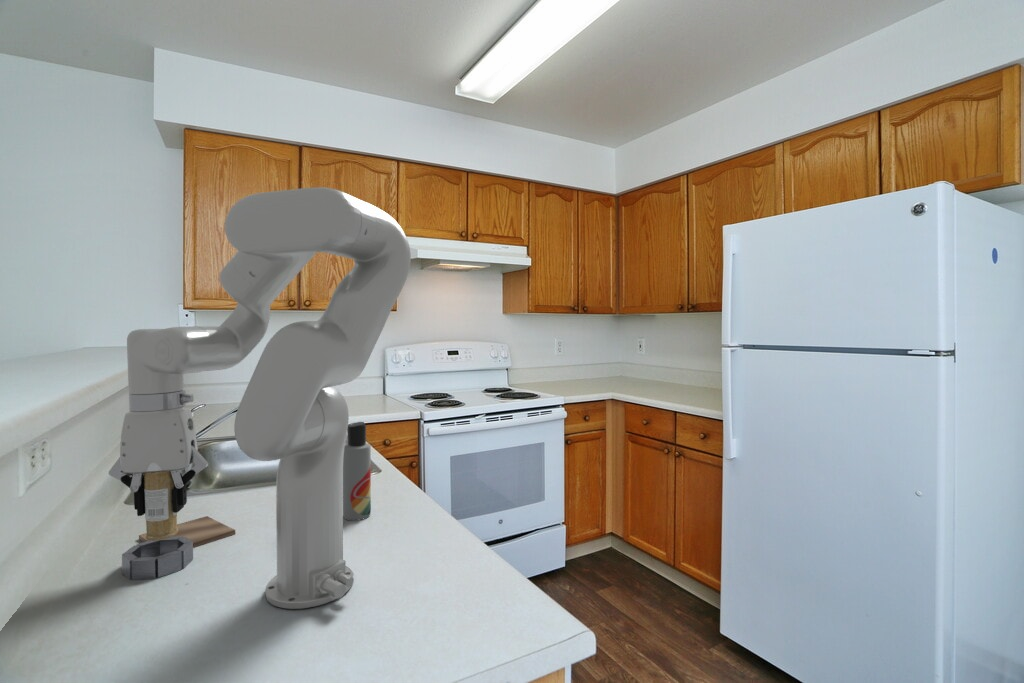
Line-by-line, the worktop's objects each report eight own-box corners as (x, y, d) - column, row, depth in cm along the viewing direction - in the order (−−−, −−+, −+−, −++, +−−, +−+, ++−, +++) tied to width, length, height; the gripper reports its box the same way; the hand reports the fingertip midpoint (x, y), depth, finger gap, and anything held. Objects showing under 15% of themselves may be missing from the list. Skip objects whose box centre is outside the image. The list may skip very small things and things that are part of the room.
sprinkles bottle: (184, 531, 87) (182, 453, 87) (163, 542, 83) (160, 460, 82) (160, 530, 88) (157, 453, 87) (138, 541, 83) (135, 459, 83)
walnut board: (235, 534, 99) (235, 529, 99) (165, 556, 89) (164, 552, 89) (207, 519, 106) (206, 516, 106) (138, 539, 96) (138, 535, 96)
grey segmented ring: (200, 563, 87) (200, 545, 86) (136, 585, 79) (136, 566, 79) (177, 548, 92) (177, 532, 92) (115, 568, 85) (115, 550, 84)
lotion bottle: (374, 517, 108) (374, 423, 107) (347, 523, 104) (347, 426, 104) (365, 509, 112) (365, 419, 112) (339, 514, 109) (339, 422, 109)
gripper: (220, 397, 90) (223, 499, 91) (110, 402, 86) (114, 509, 87) (206, 403, 83) (210, 514, 84) (85, 409, 79) (89, 525, 79)
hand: (161, 510), depth 85 cm, fingers closed on sprinkles bottle, 4 cm apart
